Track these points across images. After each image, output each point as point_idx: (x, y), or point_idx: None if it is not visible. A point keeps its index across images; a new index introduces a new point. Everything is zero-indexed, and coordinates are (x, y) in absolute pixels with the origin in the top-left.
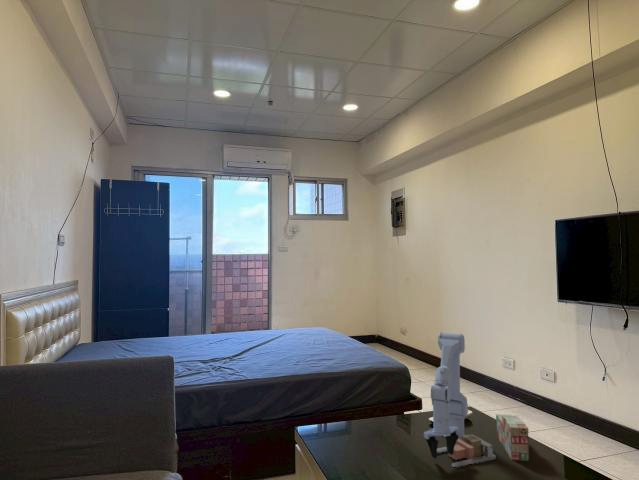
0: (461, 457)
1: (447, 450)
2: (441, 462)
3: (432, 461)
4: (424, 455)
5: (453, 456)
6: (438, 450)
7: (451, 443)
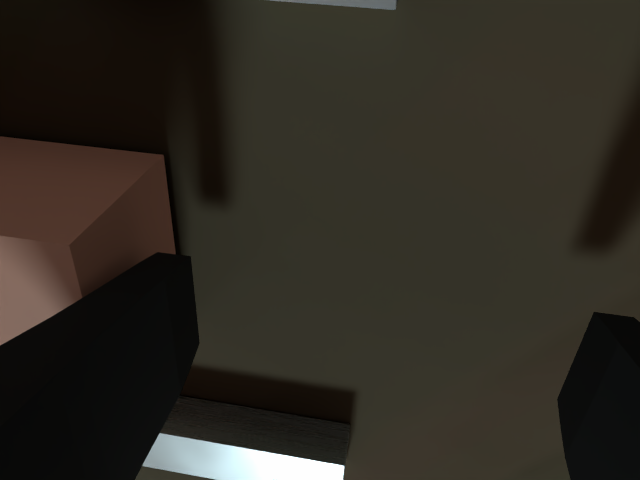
0: (9, 147)
1: (184, 371)
2: (449, 228)
3: (562, 322)
4: (501, 471)
5: (148, 225)
6: (266, 451)
7: (22, 460)
